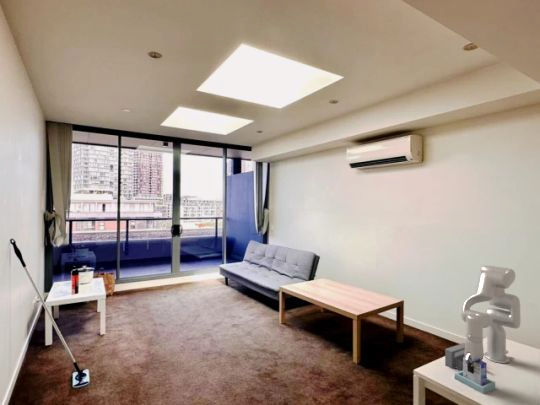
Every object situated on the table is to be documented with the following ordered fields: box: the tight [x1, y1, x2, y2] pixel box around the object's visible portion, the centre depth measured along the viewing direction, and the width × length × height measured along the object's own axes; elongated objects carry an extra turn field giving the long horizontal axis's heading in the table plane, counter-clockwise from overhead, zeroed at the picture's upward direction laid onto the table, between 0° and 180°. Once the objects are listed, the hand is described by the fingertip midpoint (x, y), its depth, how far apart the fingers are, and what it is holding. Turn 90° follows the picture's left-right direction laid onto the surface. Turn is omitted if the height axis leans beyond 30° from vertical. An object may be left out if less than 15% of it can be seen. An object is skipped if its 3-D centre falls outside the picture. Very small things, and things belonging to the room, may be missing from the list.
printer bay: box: [444, 342, 466, 371], centre depth 183 cm, size 18×15×10 cm
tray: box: [454, 370, 496, 394], centre depth 168 cm, size 11×15×3 cm
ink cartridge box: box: [463, 357, 488, 386], centre depth 168 cm, size 10×6×14 cm, turn 26°
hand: (474, 370), depth 168 cm, fingers open, 6 cm apart
